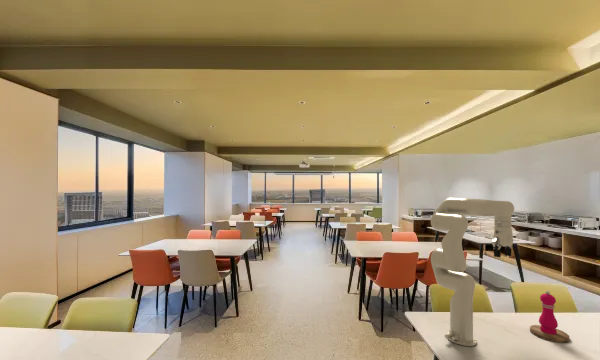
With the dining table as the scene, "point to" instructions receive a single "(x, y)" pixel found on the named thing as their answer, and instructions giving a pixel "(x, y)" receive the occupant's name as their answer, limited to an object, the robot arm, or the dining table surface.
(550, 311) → the pepper mill
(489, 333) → the dining table surface
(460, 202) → the robot arm
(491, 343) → the dining table surface
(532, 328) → the walnut board
